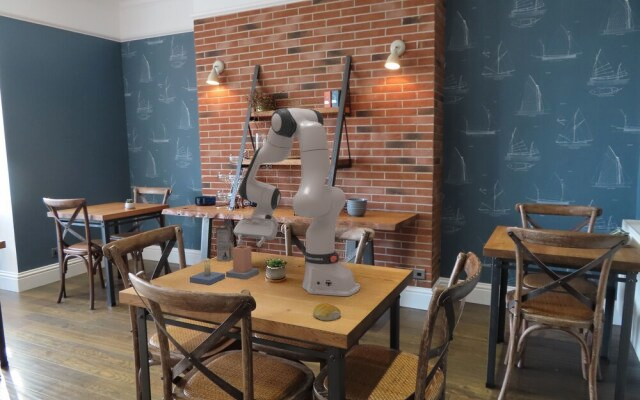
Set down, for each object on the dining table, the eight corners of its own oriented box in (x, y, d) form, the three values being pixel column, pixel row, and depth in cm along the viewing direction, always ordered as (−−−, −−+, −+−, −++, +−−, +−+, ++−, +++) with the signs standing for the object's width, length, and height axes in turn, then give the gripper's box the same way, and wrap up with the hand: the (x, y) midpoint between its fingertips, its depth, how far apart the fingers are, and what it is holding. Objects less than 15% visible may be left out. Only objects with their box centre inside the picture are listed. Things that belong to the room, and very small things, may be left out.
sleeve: (251, 269, 192) (251, 246, 190) (244, 272, 186) (243, 249, 185) (241, 267, 194) (240, 245, 193) (233, 271, 189) (232, 248, 188)
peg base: (225, 278, 186) (224, 256, 185) (209, 285, 177) (208, 262, 176) (205, 275, 190) (205, 254, 189) (189, 282, 181) (189, 259, 180)
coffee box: (221, 256, 222) (220, 224, 220) (234, 256, 222) (233, 224, 220) (216, 261, 213) (215, 228, 211) (230, 261, 212) (229, 228, 210)
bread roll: (327, 309, 151) (327, 298, 150) (344, 317, 144) (344, 305, 143) (307, 314, 146) (307, 303, 146) (323, 323, 139) (323, 311, 138)
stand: (259, 273, 193) (258, 250, 192) (246, 279, 184) (245, 255, 183) (239, 270, 197) (239, 248, 196) (226, 276, 188) (225, 253, 187)
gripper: (238, 214, 203) (225, 239, 195) (277, 217, 194) (265, 243, 187) (244, 222, 208) (232, 247, 200) (282, 225, 199) (271, 251, 192)
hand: (248, 245), depth 193 cm, fingers open, 8 cm apart
